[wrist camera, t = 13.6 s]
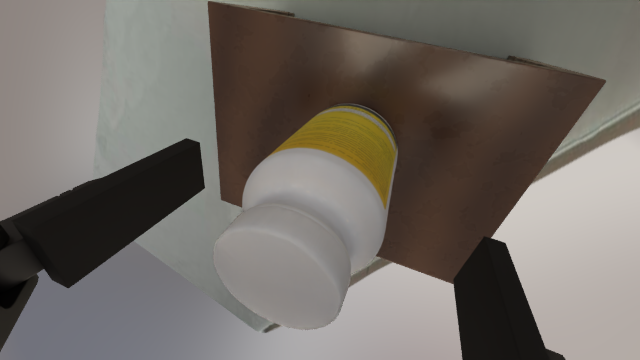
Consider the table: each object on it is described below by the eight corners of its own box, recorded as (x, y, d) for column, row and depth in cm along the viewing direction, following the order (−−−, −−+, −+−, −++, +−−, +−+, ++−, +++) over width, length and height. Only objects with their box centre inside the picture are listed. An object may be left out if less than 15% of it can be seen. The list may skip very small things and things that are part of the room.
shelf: (530, 59, 20) (607, 80, 12) (445, 212, 29) (456, 285, 21) (279, 10, 24) (206, 0, 16) (270, 157, 33) (220, 200, 25)
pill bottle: (319, 86, 17) (182, 164, 7) (416, 121, 16) (412, 265, 6) (299, 169, 20) (191, 294, 11) (377, 201, 19) (336, 369, 10)
